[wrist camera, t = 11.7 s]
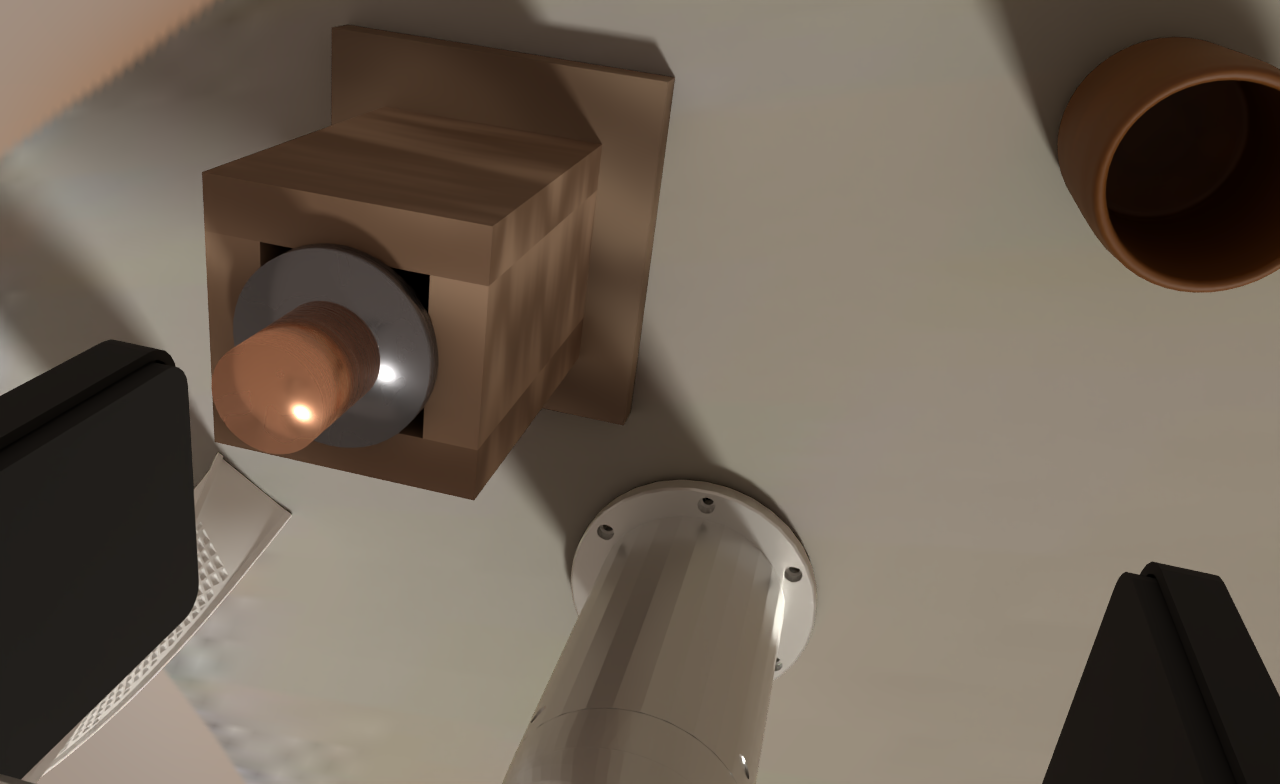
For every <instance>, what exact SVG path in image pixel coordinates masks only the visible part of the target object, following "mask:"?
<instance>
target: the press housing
mask: <svg viewBox="0 0 1280 784" xmlns="http://www.w3.org/2000/svg"><path fill="white" fill-rule="evenodd" d="M674 81H675V77H669V76H663V75H657V74H650V73H644V72H638V71H632V70H626V69H619V68H613V67H607V66H601V65H595V64H588V63H582V62H576V61H570V60H564V59H557V58H551V57H545V56H539V55H533V54H526V53H520V52H514V51H508V50H502V49H495V48H489V47H483V46H477V45H471V44H464V43H458V42H452V41H446V40H440V39H433V38H427V37H421V36H415V35H409V34H402V33H396V32H390V31H384V30H378V29H371V28H365V27H359V26H353V25H343V26H338V27H332V115H331V126H329V127H326V128H324V129H321V130H318V131H315V132H312V133H310V134H307V135H304V136H301V137H299V138H296V139H293V140H290V141H287V142H285V143H282V144H279V145H276V146H274V147H271V148H268V149H265V150H262V151H260V152H257V153H254V154H251V155H249V156H246V157H243V158H240V159H237V160H235V161H232V162H229V163H226V164H224V165H221V166H218V167H215V168H212V169H210V170H207V171H204V172H202V180H203V202H204V223H205V245H206V266H207V288H208V309H209V330H210V352H211V373H212V377H213V373H214V369H215V367H216V365H217V363H218V361H219V360H220V359H221V357H222V356H223V355H224V354H225V353H227V352H228V351H229V350H231V349H232V348H234V347H235V346H234V338H233V319H234V313H235V307H236V304H237V301H238V298H239V295H240V293H241V291H242V289H243V287H244V285H245V284H246V283H247V281H248V280H249V278H250V277H251V276H252V275H253V274H254V273H255V272H256V271H257V270H258V269H259V268H260V267H261V266H263V265H264V264H266V263H267V262H268V261H270V260H272V259H274V258H276V257H277V256H279V255H281V254H283V253H285V252H287V251H289V250H291V249H294V248H297V247H300V246H303V245H309V244H317V243H330V244H338V245H343V246H347V247H351V248H355V249H357V250H360V251H362V252H365V253H367V254H369V255H371V256H373V257H375V258H377V259H378V260H380V261H382V262H383V263H384V264H386V265H387V266H389V267H390V268H392V269H393V270H394V271H395V272H396V273H397V274H398V275H399V276H401V275H402V274H404V273H405V272H406V271H412V272H417V273H423V274H428V275H430V286H429V301H427V302H426V303H425V304H424V305H423V306H424V308H425V310H426V311H427V313H428V316H429V318H430V321H431V323H432V325H433V329H434V333H435V336H436V341H437V347H438V372H437V378H436V382H435V386H434V389H433V391H432V393H431V396H430V398H429V400H428V401H427V403H426V405H425V406H424V408H423V409H422V410H421V411H420V413H419V414H418V415H417V416H416V417H415V418H414V419H413V420H412V421H411V422H410V423H409V424H408V425H407V426H406V427H405V428H404V429H403V430H401V431H400V432H399V433H398V434H396V435H395V436H393V437H391V438H390V439H388V440H386V441H383V442H381V443H378V444H375V445H371V446H366V447H357V448H344V447H336V446H330V445H326V444H322V443H319V442H316V441H314V440H313V441H312V442H311V443H310V444H309V445H307V446H306V447H305V448H303V449H301V450H299V451H297V452H294V453H290V454H271V453H266V452H263V451H260V450H257V449H255V448H253V447H251V446H249V445H247V444H246V443H244V442H243V441H241V440H240V439H239V438H238V437H237V436H235V435H234V434H233V433H232V432H231V431H230V430H229V428H228V427H227V426H226V424H225V423H224V422H223V420H222V419H221V417H220V415H219V413H218V411H217V409H216V406H215V403H214V400H213V416H214V438H215V442H218V443H222V444H226V445H231V446H235V447H240V448H244V449H249V450H253V451H258V452H262V453H266V454H271V455H275V456H280V457H284V458H289V459H293V460H297V461H302V462H306V463H311V464H315V465H320V466H324V467H329V468H333V469H337V470H342V471H346V472H351V473H355V474H360V475H364V476H368V477H373V478H377V479H382V480H386V481H391V482H395V483H400V484H404V485H408V486H413V487H417V488H422V489H426V490H431V491H435V492H439V493H444V494H448V495H453V496H457V497H462V498H466V499H471V500H475V498H476V497H477V496H478V494H479V493H480V492H481V490H482V489H483V487H484V486H485V485H486V483H487V482H488V481H489V479H490V478H491V477H492V475H493V474H494V473H495V471H496V470H497V468H498V467H499V466H500V464H501V463H502V462H503V460H504V459H505V458H506V456H507V455H508V454H509V452H510V451H511V449H512V448H513V447H514V445H515V444H516V443H517V441H518V440H519V439H520V437H521V436H522V434H523V433H524V432H525V430H526V429H527V428H528V426H529V425H530V424H531V422H532V421H533V420H534V418H535V417H536V415H537V414H538V413H539V411H540V410H541V409H542V408H544V409H548V410H553V411H558V412H563V413H567V414H572V415H577V416H582V417H586V418H591V419H596V420H601V421H605V422H610V423H615V424H620V425H624V424H625V422H626V420H627V418H628V416H629V414H630V413H631V405H632V398H633V390H634V383H635V375H636V368H637V360H638V353H639V345H640V338H641V330H642V322H643V315H644V307H645V300H646V292H647V285H648V277H649V270H650V262H651V255H652V247H653V240H654V232H655V225H656V217H657V209H658V202H659V194H660V187H661V179H662V172H663V164H664V157H665V149H666V142H667V134H668V127H669V119H670V111H671V104H672V96H673V89H674Z"/></svg>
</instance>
